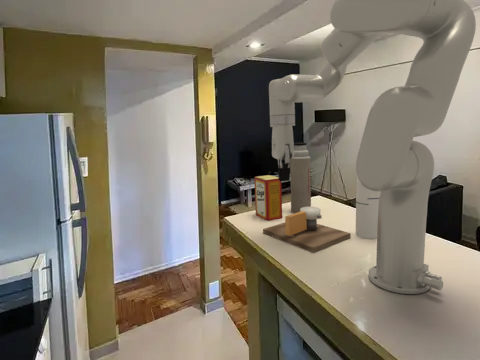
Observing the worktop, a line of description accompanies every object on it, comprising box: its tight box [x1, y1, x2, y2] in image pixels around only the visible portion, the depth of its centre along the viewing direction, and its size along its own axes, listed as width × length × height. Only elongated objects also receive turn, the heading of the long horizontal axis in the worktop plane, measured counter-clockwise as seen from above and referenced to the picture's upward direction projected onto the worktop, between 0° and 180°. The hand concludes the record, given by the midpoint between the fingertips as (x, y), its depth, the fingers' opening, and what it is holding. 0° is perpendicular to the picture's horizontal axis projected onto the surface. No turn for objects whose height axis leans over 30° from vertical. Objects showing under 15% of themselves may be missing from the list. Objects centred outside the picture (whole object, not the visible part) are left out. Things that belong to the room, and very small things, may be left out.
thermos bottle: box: [289, 142, 312, 214], centre depth 128 cm, size 8×8×28 cm
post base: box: [262, 219, 351, 253], centre depth 103 cm, size 22×17×6 cm
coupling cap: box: [284, 206, 323, 236], centre depth 102 cm, size 14×8×6 cm, turn 129°
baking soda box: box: [253, 174, 283, 222], centre depth 125 cm, size 10×6×16 cm
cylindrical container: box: [355, 175, 381, 240], centre depth 99 cm, size 7×7×25 cm
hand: (284, 180), depth 101 cm, fingers closed
